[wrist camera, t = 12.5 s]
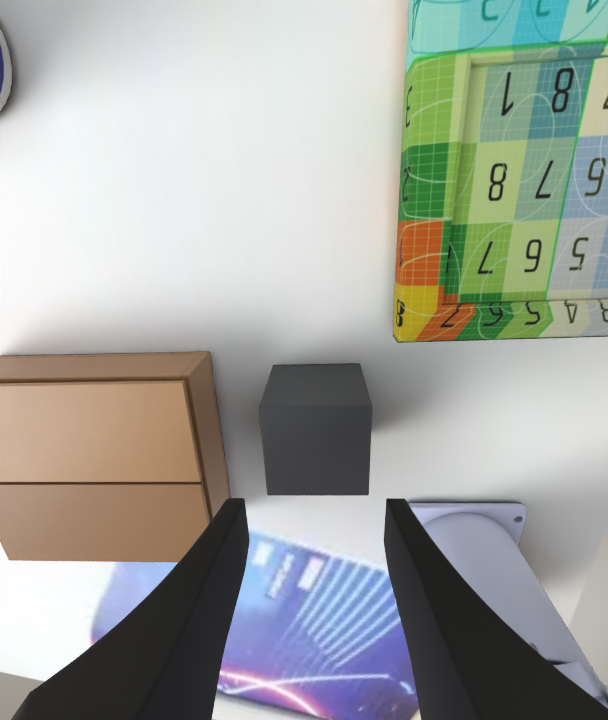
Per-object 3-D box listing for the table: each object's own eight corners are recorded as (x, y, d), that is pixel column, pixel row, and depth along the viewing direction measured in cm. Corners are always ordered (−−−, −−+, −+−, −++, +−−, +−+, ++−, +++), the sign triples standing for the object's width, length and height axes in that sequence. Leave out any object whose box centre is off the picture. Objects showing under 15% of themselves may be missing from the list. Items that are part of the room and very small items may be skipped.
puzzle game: (1090, -663, 7) (701, 341, 14) (780, -305, 11) (608, 313, 18) (457, -555, 7) (402, 349, 14) (405, -258, 12) (383, 321, 19)
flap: (216, 558, 20) (215, 562, 20) (13, 556, 21) (8, 560, 21) (202, 480, 18) (200, 484, 18) (-23, 480, 19) (-28, 484, 19)
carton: (232, 510, 24) (216, 563, 20) (56, 509, 25) (8, 561, 21) (209, 351, 20) (183, 381, 16) (-3, 355, 20) (-76, 385, 17)
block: (357, 437, 21) (368, 495, 17) (278, 438, 22) (267, 495, 17) (359, 363, 20) (372, 405, 15) (272, 364, 20) (258, 406, 15)
